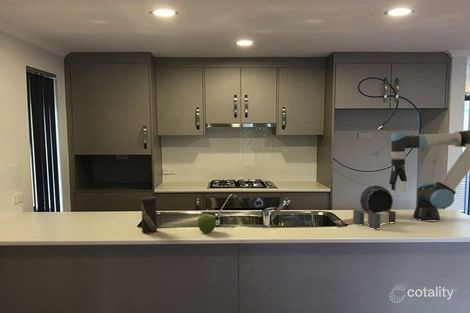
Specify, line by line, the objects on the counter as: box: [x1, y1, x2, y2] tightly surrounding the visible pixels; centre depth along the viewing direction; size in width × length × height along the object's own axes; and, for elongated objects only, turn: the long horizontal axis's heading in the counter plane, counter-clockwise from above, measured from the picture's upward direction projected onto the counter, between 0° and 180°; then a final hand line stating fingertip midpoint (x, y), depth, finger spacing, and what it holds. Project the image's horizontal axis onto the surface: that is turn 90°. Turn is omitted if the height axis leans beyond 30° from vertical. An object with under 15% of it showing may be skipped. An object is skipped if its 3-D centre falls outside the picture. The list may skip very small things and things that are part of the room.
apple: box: [197, 214, 217, 234], centre depth 204 cm, size 11×10×10 cm
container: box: [140, 195, 158, 234], centre depth 206 cm, size 9×9×20 cm
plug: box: [367, 209, 396, 225], centre depth 222 cm, size 18×6×7 cm, turn 117°
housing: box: [352, 208, 381, 229], centre depth 216 cm, size 4×17×9 cm, turn 27°
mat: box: [333, 217, 353, 225], centre depth 227 cm, size 20×9×1 cm, turn 117°
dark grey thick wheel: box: [359, 184, 394, 213], centre depth 242 cm, size 11×20×20 cm, turn 96°
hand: (398, 193), depth 220 cm, fingers open, 13 cm apart
